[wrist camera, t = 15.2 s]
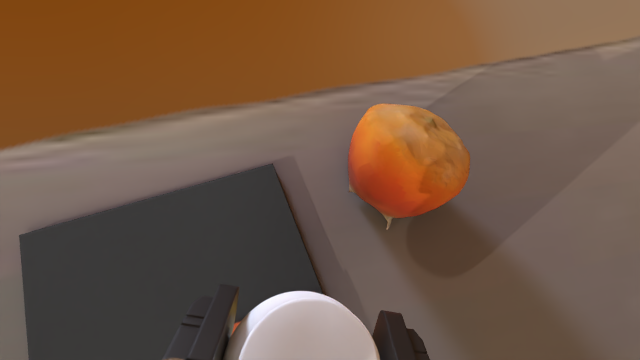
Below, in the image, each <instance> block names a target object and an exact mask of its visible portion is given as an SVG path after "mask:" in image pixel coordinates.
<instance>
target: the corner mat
mask: <svg viewBox="0 0 640 360" xmlns="http://www.w3.org/2000/svg"><path fill="white" fill-rule="evenodd" d="M19 238H20V251H21V264H22V277H23V290H24V303H25V316H26V329H27V342H28V355H29V360H162V358H163V356H164V354H165V353H166V351H167V349H168V347H169V345H170V343H171V341H172V339H173V337H174V336H175V334H176V332H177V330H178V328H179V326H180V325H181V322H182V320H183V319H184V317H185V316H186V313H187V311H188V309H189V307H190V305H191V304H192V303H193V302H194V301H195V300H197V299H198V298H199V297H200V296H202V295H203V296H210V297H214V295H215V292H216V290H217V288H218V286H219V284H225V285H231V286H238V287H239V295H238V302H237V309H236V316H235V322H234V327H233V332H234V331H235V329H236V327H237V326H238V325H239V323H240V322H241V321H242V319H243V318H244V317H245V316H246V315H247V314H248V313H249V312H250V311H251V310H253V309H254V308H255V307H256V306H258V305H259V304H260V303H262V302H264V301H265V300H267V299H269V298H271V297H274V296H276V295H279V294H282V293H286V292H293V291H310V292H315V293H319V294H323V292H322V290H321V287H320V284H319V282H318V279H317V277H316V274H315V272H314V269H313V266H312V264H311V261H310V259H309V256H308V254H307V251H306V249H305V246H304V243H303V241H302V238H301V236H300V233H299V231H298V228H297V225H296V223H295V220H294V218H293V215H292V213H291V210H290V207H289V205H288V202H287V200H286V197H285V195H284V192H283V189H282V187H281V184H280V182H279V179H278V177H277V174H276V172H275V169H274V166H273V164H270V165H266V166H262V167H259V168H255V169H252V170H248V171H245V172H241V173H238V174H234V175H231V176H227V177H223V178H220V179H216V180H213V181H209V182H206V183H202V184H199V185H195V186H192V187H188V188H185V189H181V190H177V191H174V192H170V193H167V194H163V195H160V196H156V197H153V198H149V199H146V200H142V201H139V202H135V203H131V204H128V205H124V206H121V207H117V208H114V209H110V210H107V211H103V212H100V213H96V214H93V215H89V216H85V217H82V218H78V219H75V220H71V221H68V222H64V223H61V224H57V225H54V226H50V227H47V228H43V229H39V230H36V231H32V232H29V233H25V234H22V235H19ZM233 332H232V334H233ZM231 336H232V335H231Z"/></svg>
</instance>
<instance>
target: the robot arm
mask: <svg viewBox="0 0 640 360" xmlns="http://www.w3.org/2000/svg"><path fill="white" fill-rule="evenodd" d="M238 295H239V287H238V286H231V285H225V284H219V286H218V288H217V290H216V292H215V295H214V297H210V296H203V295H202V296H200V297H199V298H198V299H197V300H195V301H194V302H193V303H192V304H191V305H190V307H189V309H188V311H187V313H186V316H185V317H184V319H183V320H182V322H181V325H180V326H179V328H178V330H177V332H176V334H175V336H174V337H173V339H172V341H171V343H170V345H169V347H168V349H167V351H166V353H165V354H164V356H163V358H162V360H223V357H224V353H225V350H226V347H227V345H228V342H229V340H230V338H231V335H232V332H233V327H234V322H235V316H236V309H237V302H238ZM372 338H373V340H374V343H375V345H376V347H377V350H378V353H379V357H380V360H430V359H429V356H428V354H427V351H426V348H425V346H424V343H423V340H422V339H421V338H420V337H419V336H418V334H417V333H416V332H415V331H414V330H413V329H407V328H406V326H405V323H404V320H403V317H402V315H401V313H395V312H389V311H383V310H381V311H380V313H379V316H378V319H377V323H376V326H375V329H374V333H373V336H372Z"/></svg>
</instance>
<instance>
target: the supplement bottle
mask: <svg viewBox="0 0 640 360" xmlns="http://www.w3.org/2000/svg"><path fill="white" fill-rule="evenodd" d="M223 360H380V357H379V353H378V350H377V347H376V345H375V343H374V340H373V338H372V336H371V335H370V333H369V331H368V330H367V328H366V327H365V326H364V324H363V323H362V322H361V321H360V320H359V319H358V318H357V317H356V316H355V315H354V314H353V313H352V312H351V311H350V310H348V309H347V308H346V307H345V306H344V305H342V304H341V303H339V302H338V301H336V300H334V299H332V298H330V297H328V296H325V295H323V294H319V293H315V292H310V291H293V292H286V293H282V294H279V295H276V296H274V297H271V298H269V299H267V300H265V301H264V302H262V303H260V304H259V305H258V306H256V307H255V308H254V309H253V310H251V311H250V312H249V313H248V314H247V315H246V316H245V317H244V318H243V319H242V321H241V322H240V323H239V325H238V326H237V327H236V329H235V331H234V332H233V334H232V336H231V338H230V340H229V342H228V345H227V347H226V350H225V353H224V357H223Z"/></svg>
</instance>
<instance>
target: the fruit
mask: <svg viewBox="0 0 640 360" xmlns="http://www.w3.org/2000/svg"><path fill="white" fill-rule="evenodd" d="M469 165H470V155H469V152H468V150H467V149H466V148H465V146H464V145H463V142H462V140H461V139H460V138H459V137H458V136H457V134H456V133H455V132H454V131H453V130H452V129H451V127H450V126H449V125H448V124H447V122H446V121H444V120H443V119H442V118H440V117H439V116H437V115H435V114H433V113H431V112H430V111H428V110H425V109H421V108H419V107H415V106H407V105H396V104H378V105H375V106H372V107H371V108H369V109H368V110H367V112H366V114H365V115H364V116H363V118H362V119H361V120H360V122H359V124H358V126H357V128H356V130H355V132H354V134H353V136H352V140H351V144H350V149H349V155H348V176H349V192H354V193H356V194H357V195H358V196H359V197H360V198H361V199H362V200H364V201H365V202H367V203H369V204H370V205H372V206H373V207H374V208H376V209H377V210H378V211H379V212H380V213H381V214H382V215H383V216H384V217H385V218H386V220H387V221H388V224H387V229H389V226H390V224H391V221H392V218H393V217H394V218H404V217H411V216H418V215H421V214H423V213H426V212H428V211H430V210H433V209H436V208H438V207H440V206H441V205H443V204H444V203H446V202H447V201H449V200H450V199H452V198H453V197H455V196H456V195H457V194H459V193H460V191H461V189H462V188H463V187H464V185H465V183H466V181H467V178H468V175H469Z"/></svg>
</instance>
